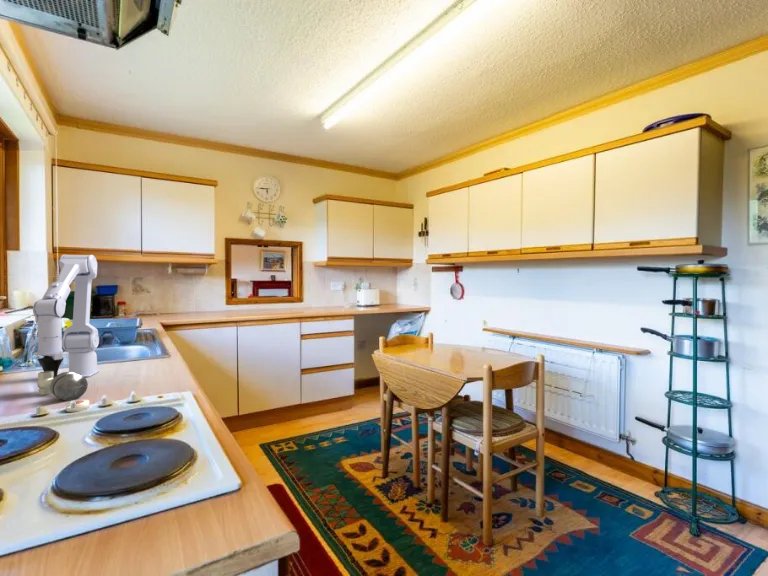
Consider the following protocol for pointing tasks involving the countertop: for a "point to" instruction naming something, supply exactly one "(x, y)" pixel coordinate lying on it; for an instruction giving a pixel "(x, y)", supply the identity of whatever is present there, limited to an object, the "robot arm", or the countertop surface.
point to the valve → (45, 382)
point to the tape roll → (79, 402)
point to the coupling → (68, 386)
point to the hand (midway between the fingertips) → (51, 379)
